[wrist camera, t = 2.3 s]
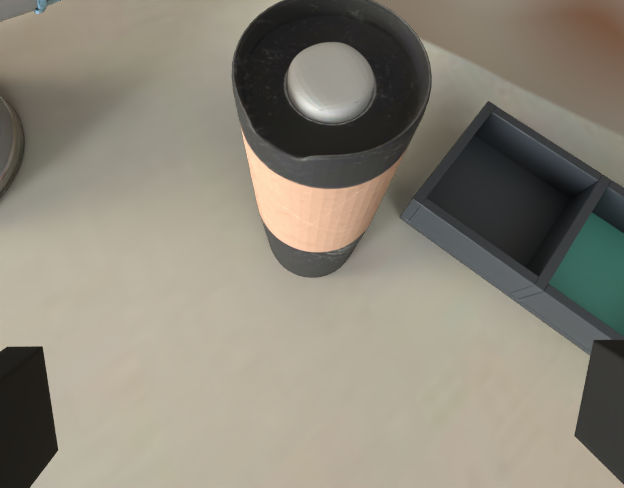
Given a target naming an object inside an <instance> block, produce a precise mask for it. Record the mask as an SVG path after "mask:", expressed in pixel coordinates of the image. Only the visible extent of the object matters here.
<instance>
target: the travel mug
mask: <svg viewBox="0 0 624 488" xmlns="http://www.w3.org/2000/svg"><path fill="white" fill-rule="evenodd" d="M431 78H432V76H431V68H430V62H429V59H428V55H427V52H426V50H425V48H424V46H423V44H422V42H421V40H420V39H419V37H418V36H417V34H416V33H415V32H414V30H413V29H412V28H411V27H410V26H409V25H408V24H407V23H406V22H405V21H404V20H403V19H402V18H401V17H400V16H398V15H397V14H395V13H394V12H393V11H391V10H390V9H388V8H387V7H385V6H383V5H381V4H379V3H377V2H375V1H372V0H283V1H281V2H278V3H276V4H275V5H273V6H271V7H269V8H268V9H266V10H265V11H264V12H262V13H261V14H260V15H258V16H257V17H256V18H255V19H254V20H253V21H252V22H251V23H250V25H249V26H248V27H247V29H246V30H245V31H244V33H243V35H242V36H241V38H240V40H239V42H238V45H237V47H236V50H235V53H234V57H233V62H232V84H233V92H234V97H235V101H236V106H237V111H238V116H239V120H240V125H241V130H242V134H243V139H244V144H245V148H246V153H247V158H248V162H249V167H250V172H251V176H252V181H253V186H254V191H255V195H256V200H257V205H258V209H259V212H260V216H261V219H262V222H263V225H264V228H265V231H266V234H267V237H268V240H269V243H270V246H271V249H272V251H273V253H274V255H275V257H276V259H277V260H278V261H279V263H280V264H281V265H282V266H283V267H284V268H286V269H287V270H289V271H290V272H292V273H294V274H297V275H299V276H303V277H322V276H325V275H328V274H330V273H332V272H334V271H336V270H337V269H338V268H340V267H341V266H342V265H343V264H344V263H345V262H346V260H347V259H348V258H349V256H350V255H351V253H352V252H353V250H354V248H355V247H356V245H357V244H358V242H359V240H360V239H361V237H362V236H363V234H364V233H365V231H366V229H367V228H368V226H369V224H370V222H371V221H372V219H373V217H374V215H375V212H376V210H377V208H378V206H379V204H380V202H381V200H382V198H383V196H384V194H385V192H386V190H387V188H388V186H389V184H390V182H391V180H392V178H393V176H394V174H395V172H396V170H397V168H398V166H399V163H400V161H401V159H402V157H403V155H404V153H405V151H406V149H407V147H408V145H409V143H410V141H411V139H412V137H413V135H414V133H415V131H416V129H417V127H418V125H419V123H420V121H421V119H422V117H423V114H424V112H425V109H426V106H427V104H428V101H429V96H430V91H431Z"/></svg>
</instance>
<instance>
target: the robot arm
mask: <svg viewBox="0 0 624 488" xmlns="http://www.w3.org/2000/svg"><path fill="white" fill-rule="evenodd" d="M58 1H61V0H0V22H1V21H4V20H7V19H10V18H13V17H16V16H19V15H22V14H25V13H27V12H30V11H33V10H34V12H35V13H36V14H39V13H42V12H44V11H45V9H46V7H47V6H48V5H51V4H53V3H56V2H58ZM23 150H24V136H23V130H22V126H21V123H20V120H19V118H18V116H17V114H16V113H15V111H14V110H13V108H12V107H11V106H10V105H9V104H8V103H7V102H6V101H5V100H4V99H3V98H2V97H1V96H0V198H1V196H2V195H3V194H4V193H5V192H6V190H7V189H8V188H9V186H10V184H11V183H12V181H13V180H14V178H15V176H16V174H17V172H18V169H19V166H20V164H21V160H22V156H23ZM575 437H576V438H577V439H578V440H579V441H580V442H581V443H582V444H583V445H584V446H585V447H586V448H587V449H588V450H589V451H590V452H591V453H593V454H594V455H595V456H596V457H597V458H598V459H599V460H600V461H601V462H602V463H603V464H604V465H605V466H606V467H607V468H608V469H609V470H610V471H611V472H612V473H613V474H614V475H615V476H616V477H617V478H618V479H619V480H620V481H621V482H622V483H623V484H624V340H594V341H593V346H592V351H591V356H590V361H589V366H588V371H587V376H586V381H585V386H584V391H583V396H582V401H581V406H580V411H579V416H578V421H577V426H576V431H575ZM57 451H58V446H57V439H56V433H55V426H54V419H53V413H52V406H51V399H50V393H49V386H48V380H47V373H46V366H45V360H44V353H43V347H6V348H5V349H3V350H2V351H1V352H0V488H30V487H31V485H32V484H33V483H34V481H35V480H36V479H37V477H38V476H39V475H40V473H41V472H42V471H43V470H44V468H45V467H46V466H47V464H48V463H49V462H50V460H51V459H52V458H53V456H54V455H55V454H56V452H57Z"/></svg>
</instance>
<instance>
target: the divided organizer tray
mask: <svg viewBox="0 0 624 488" xmlns="http://www.w3.org/2000/svg"><path fill="white" fill-rule="evenodd" d="M400 218H401V219H402V220H404V221H405V222H406V223H408V224H409V225H410V226H412V227H413V228H415V229H416V230H417V231H419V232H420V233H422V234H423V235H424V236H426V237H427V238H428V239H430V240H431V241H433V242H434V243H435V244H437V245H438V246H439V247H441V248H442V249H444V250H445V251H446V252H448V253H449V254H451V255H452V256H453V257H455V258H456V259H457V260H459V261H460V262H462V263H463V264H464V265H466V266H467V267H469V268H470V269H471V270H473V271H474V272H475V273H477V274H478V275H480V276H481V277H482V278H484V279H485V280H487V281H488V282H489V283H491V284H492V285H493V286H495V287H496V288H498V289H499V290H500V291H502V292H503V293H505V294H506V295H507V296H509V297H510V298H511V299H513V300H514V301H516V302H517V303H518V304H520V305H521V306H522V307H524V308H525V309H527V310H528V311H529V312H531V313H532V314H534V315H535V316H536V317H538V318H539V319H540V320H542V321H543V322H545V323H546V324H547V325H549V326H550V327H552V328H553V329H554V330H556V331H557V332H558V333H560V334H561V335H563V336H564V337H565V338H567V339H568V340H570V341H571V342H572V343H574V344H575V345H576V346H578V347H579V348H581V349H582V350H583V351H585V352H586V353H588V354H589V355H590V356H591V351H592V346H593V341H594V340H624V188H623V187H622V186H620V185H618V184H617V183H615V182H614V181H612V180H610V179H609V178H607V177H606V176H604V175H602V174H601V173H599V172H598V171H596V170H595V169H593V168H592V167H590V166H588V165H587V164H585V163H584V162H582V161H581V160H579V159H578V158H576V157H574V156H573V155H571V154H570V153H568V152H567V151H565V150H564V149H562V148H560V147H559V146H557V145H556V144H554V143H553V142H551V141H549V140H548V139H546V138H545V137H543V136H542V135H540V134H539V133H537V132H535V131H534V130H532V129H531V128H529V127H528V126H526V125H525V124H523V123H521V122H520V121H518V120H517V119H515V118H514V117H512V116H511V115H509V114H507V113H506V112H504V111H503V110H501V109H500V108H498V107H496V106H495V105H494V104H492V103H491V102H489V101H488V102H487V103H486V105H485V106H484V107H483V109H482V110H481V111H480V112H479V114H478V115H477V116H476V118H475V119H474V120H473V121H472V123H471V124H470V125H469V127H468V128H467V129H466V130H465V132H464V133H463V134H462V136H461V137H460V138H459V139H458V141H457V142H456V143H455V145H454V146H453V147H452V148H451V150H450V151H449V152H448V154H447V155H446V156H445V157H444V159H443V160H442V161H441V163H440V164H439V165H438V166H437V168H436V169H435V170H434V172H433V173H432V174H431V176H430V177H429V178H428V179H427V181H426V182H425V183H424V185H423V186H422V187H421V188H420V190H419V191H418V192H417V194H416V195H415V196H414V197H413V199H412V200H411V202H410V203H409V204H408V206H407V207H406V209H405V210H404V212H403V213H402V214H401V216H400Z"/></svg>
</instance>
